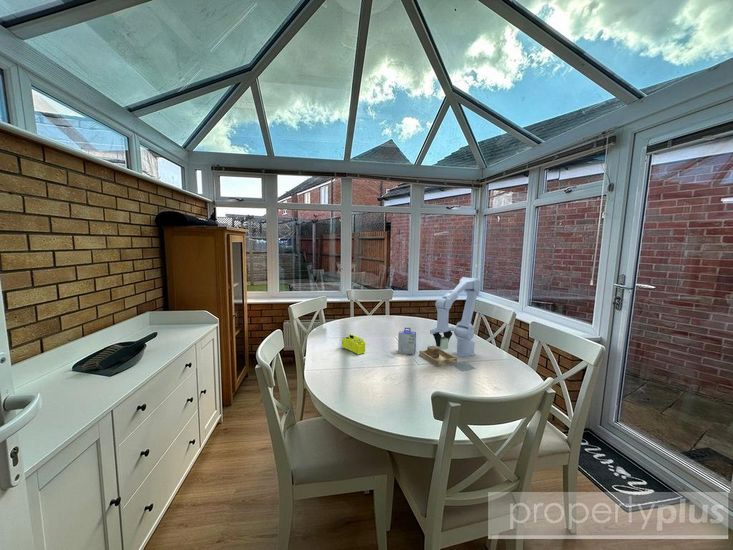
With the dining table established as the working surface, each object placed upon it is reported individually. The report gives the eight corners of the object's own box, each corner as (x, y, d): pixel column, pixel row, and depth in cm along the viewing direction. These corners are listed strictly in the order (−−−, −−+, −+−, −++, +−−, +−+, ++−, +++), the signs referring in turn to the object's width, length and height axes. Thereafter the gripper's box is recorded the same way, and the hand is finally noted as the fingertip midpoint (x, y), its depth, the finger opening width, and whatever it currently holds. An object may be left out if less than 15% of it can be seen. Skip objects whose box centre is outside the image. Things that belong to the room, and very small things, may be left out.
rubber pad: (464, 362, 160) (464, 361, 160) (476, 369, 152) (476, 368, 151) (450, 365, 156) (450, 364, 156) (462, 372, 148) (462, 371, 148)
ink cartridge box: (415, 351, 175) (416, 327, 174) (415, 355, 170) (415, 330, 168) (399, 350, 178) (399, 326, 176) (397, 353, 173) (398, 329, 171)
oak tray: (437, 352, 174) (437, 347, 174) (456, 363, 159) (457, 358, 158) (419, 356, 169) (419, 350, 169) (437, 367, 154) (437, 361, 153)
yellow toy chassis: (365, 353, 173) (365, 339, 172) (358, 355, 169) (358, 341, 169) (349, 346, 185) (349, 332, 184) (341, 348, 182) (341, 334, 181)
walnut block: (433, 353, 171) (434, 345, 170) (439, 357, 166) (439, 348, 165) (427, 355, 169) (427, 346, 168) (432, 358, 164) (432, 349, 164)
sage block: (442, 346, 163) (443, 336, 162) (448, 348, 159) (448, 338, 158) (435, 347, 161) (436, 337, 160) (441, 350, 157) (441, 339, 156)
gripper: (449, 317, 165) (448, 341, 166) (426, 320, 159) (426, 344, 160) (457, 320, 158) (456, 345, 160) (434, 323, 152) (434, 349, 154)
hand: (442, 345), depth 160 cm, fingers closed on sage block, 4 cm apart
